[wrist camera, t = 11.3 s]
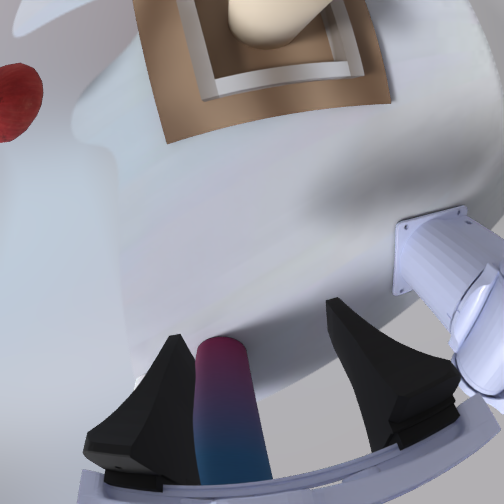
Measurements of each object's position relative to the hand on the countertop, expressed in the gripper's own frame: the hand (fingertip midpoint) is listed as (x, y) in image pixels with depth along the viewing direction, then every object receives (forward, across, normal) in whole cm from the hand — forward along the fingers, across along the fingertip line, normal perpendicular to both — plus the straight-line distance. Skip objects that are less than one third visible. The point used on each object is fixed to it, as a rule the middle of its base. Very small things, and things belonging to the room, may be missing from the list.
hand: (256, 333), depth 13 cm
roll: (+8, -5, -16) cm, 19 cm away
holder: (+9, -5, -16) cm, 19 cm away
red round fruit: (+10, +13, -17) cm, 23 cm away
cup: (+10, +5, +11) cm, 15 cm away
